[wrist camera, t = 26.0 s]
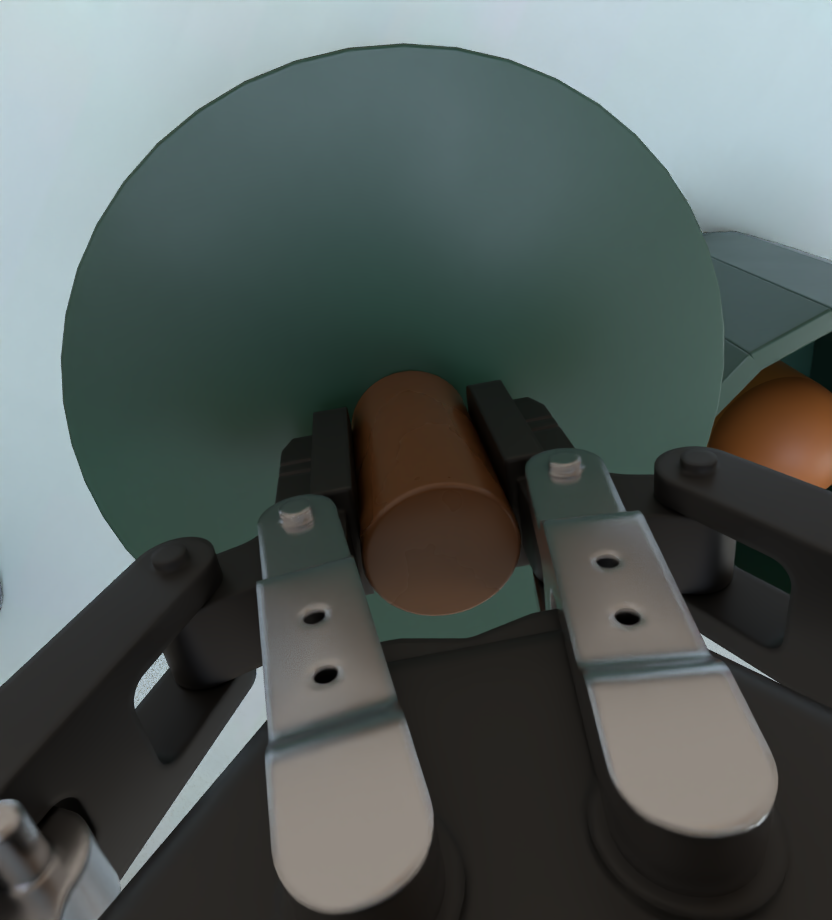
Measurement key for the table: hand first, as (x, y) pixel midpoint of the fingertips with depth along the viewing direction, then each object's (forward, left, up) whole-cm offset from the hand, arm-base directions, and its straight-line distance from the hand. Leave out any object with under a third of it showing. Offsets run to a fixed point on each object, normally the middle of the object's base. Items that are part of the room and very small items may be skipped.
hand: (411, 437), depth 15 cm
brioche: (+15, -8, -17) cm, 24 cm away
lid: (0, 0, -1) cm, 1 cm away
